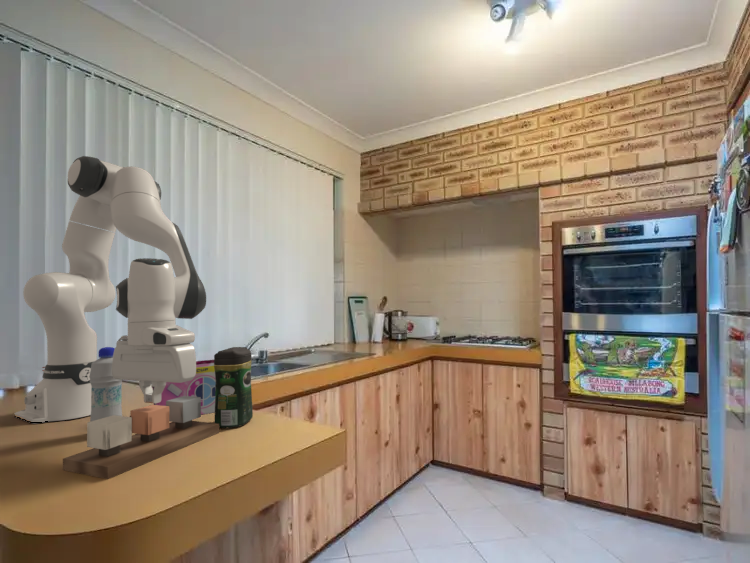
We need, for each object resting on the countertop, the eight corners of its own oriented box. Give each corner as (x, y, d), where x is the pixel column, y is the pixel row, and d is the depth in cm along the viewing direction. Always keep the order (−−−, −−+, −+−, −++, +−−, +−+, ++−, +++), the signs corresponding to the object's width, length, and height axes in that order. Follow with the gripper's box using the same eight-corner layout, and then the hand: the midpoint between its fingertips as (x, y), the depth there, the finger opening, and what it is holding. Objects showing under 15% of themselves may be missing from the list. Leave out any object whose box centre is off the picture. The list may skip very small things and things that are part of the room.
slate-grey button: (166, 421, 90) (166, 400, 91) (184, 415, 95) (184, 395, 95) (183, 423, 89) (182, 402, 89) (200, 416, 93) (200, 397, 93)
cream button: (87, 446, 75) (87, 422, 75) (113, 438, 79) (113, 415, 80) (105, 450, 73) (105, 424, 73) (131, 440, 77) (131, 417, 78)
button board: (62, 469, 74) (63, 438, 74) (180, 427, 98) (180, 404, 98) (107, 479, 69) (108, 446, 70) (219, 432, 94) (219, 408, 94)
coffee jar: (226, 417, 106) (226, 345, 107) (256, 417, 105) (255, 345, 106) (208, 429, 96) (208, 350, 97) (241, 429, 96) (240, 349, 97)
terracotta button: (130, 432, 83) (130, 410, 83) (152, 425, 87) (152, 404, 87) (148, 435, 81) (148, 412, 81) (169, 427, 85) (169, 406, 86)
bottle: (93, 431, 97) (94, 346, 98) (126, 428, 99) (126, 344, 100) (84, 440, 90) (85, 349, 91) (119, 436, 93) (120, 347, 94)
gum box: (152, 423, 102) (152, 369, 103) (147, 417, 109) (147, 365, 109) (246, 407, 117) (246, 359, 117) (237, 402, 123) (237, 356, 124)
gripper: (103, 336, 86) (103, 403, 85) (176, 336, 79) (176, 409, 78) (130, 334, 92) (131, 396, 91) (201, 333, 84) (201, 401, 84)
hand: (152, 402), depth 84 cm, fingers closed
